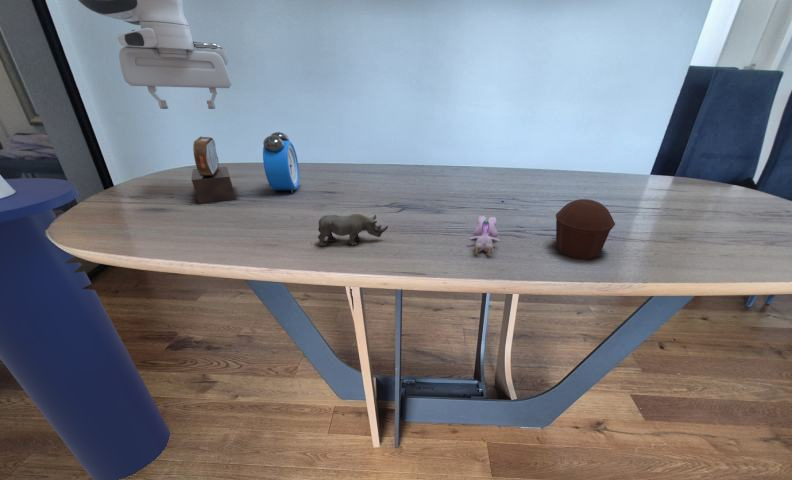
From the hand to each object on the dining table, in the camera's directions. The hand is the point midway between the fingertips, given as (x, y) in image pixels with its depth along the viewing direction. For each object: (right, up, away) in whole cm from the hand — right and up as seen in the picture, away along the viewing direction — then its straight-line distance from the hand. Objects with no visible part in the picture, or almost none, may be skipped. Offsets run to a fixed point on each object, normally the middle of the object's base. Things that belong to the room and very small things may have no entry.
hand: (188, 108), depth 88 cm
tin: (0, -13, +8) cm, 15 cm away
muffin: (+89, -35, -12) cm, 96 cm away
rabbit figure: (+70, -33, -11) cm, 78 cm away
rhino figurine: (+43, -33, -13) cm, 56 cm away
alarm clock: (+15, -16, +17) cm, 28 cm away
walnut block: (0, -18, +10) cm, 21 cm away
